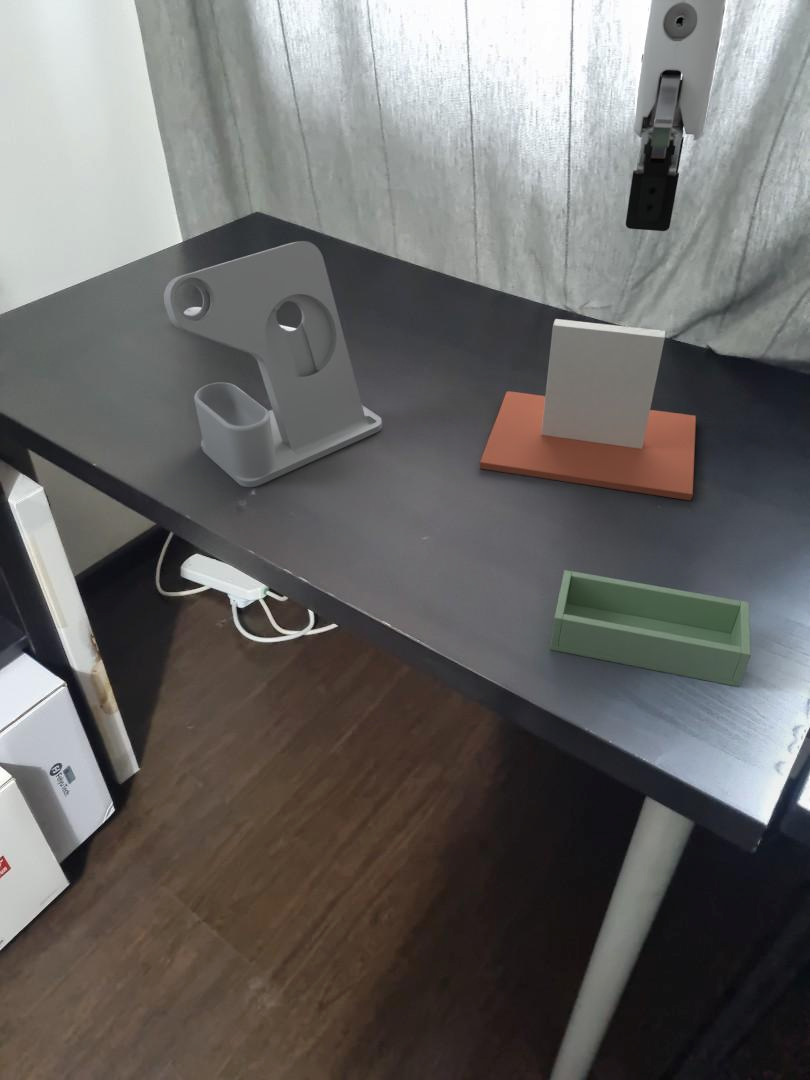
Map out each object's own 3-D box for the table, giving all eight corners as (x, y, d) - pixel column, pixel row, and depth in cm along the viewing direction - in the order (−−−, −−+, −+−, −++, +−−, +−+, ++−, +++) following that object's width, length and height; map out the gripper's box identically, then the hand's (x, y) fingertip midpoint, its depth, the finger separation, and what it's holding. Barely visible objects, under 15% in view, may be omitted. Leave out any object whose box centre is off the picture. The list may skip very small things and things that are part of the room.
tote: (737, 634, 64) (749, 602, 61) (738, 687, 60) (751, 654, 57) (559, 601, 67) (564, 569, 64) (549, 649, 63) (554, 617, 61)
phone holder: (243, 492, 78) (211, 315, 67) (192, 446, 85) (155, 276, 73) (387, 427, 87) (381, 259, 75) (331, 390, 93) (318, 229, 81)
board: (643, 441, 83) (665, 330, 75) (642, 449, 82) (664, 337, 74) (543, 427, 85) (555, 318, 77) (541, 435, 84) (552, 325, 76)
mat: (694, 422, 87) (696, 415, 86) (691, 501, 76) (692, 494, 76) (506, 397, 91) (506, 390, 90) (479, 468, 81) (479, 462, 80)
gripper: (758, -46, 47) (697, 251, 58) (750, -70, 60) (702, 178, 71) (624, -45, 49) (590, 242, 60) (645, -69, 62) (613, 172, 73)
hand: (651, 207), depth 65 cm, fingers open, 9 cm apart
